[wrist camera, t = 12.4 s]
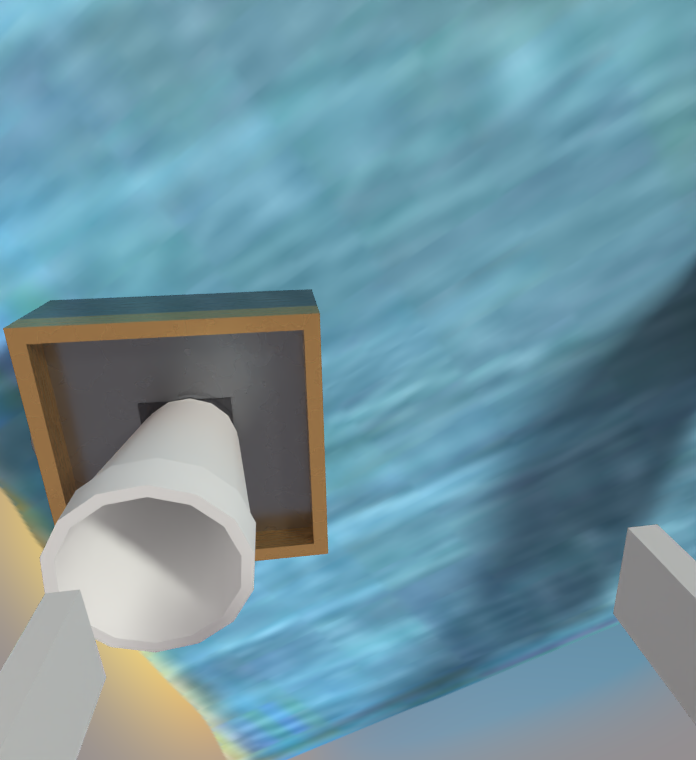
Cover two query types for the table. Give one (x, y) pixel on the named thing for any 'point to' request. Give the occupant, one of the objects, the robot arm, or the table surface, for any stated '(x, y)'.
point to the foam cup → (160, 534)
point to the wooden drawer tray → (183, 393)
